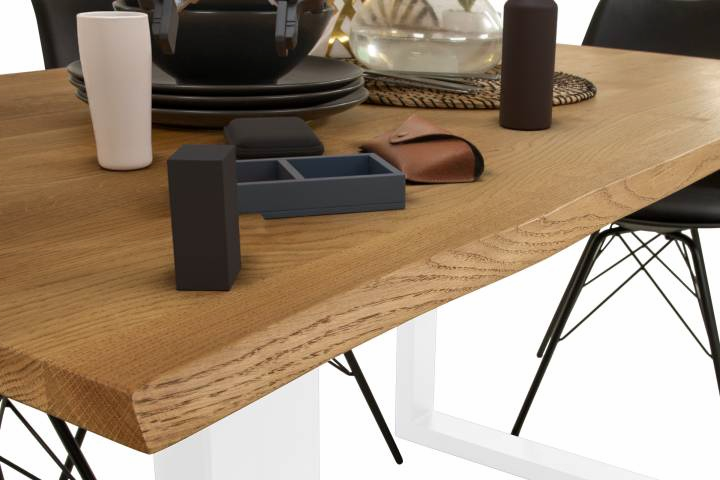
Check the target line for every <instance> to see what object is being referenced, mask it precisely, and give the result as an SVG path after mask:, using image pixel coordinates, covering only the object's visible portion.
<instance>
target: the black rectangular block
mask: <svg viewBox="0 0 720 480" xmlns="http://www.w3.org/2000/svg"><path fill="white" fill-rule="evenodd" d="M236 160H237V158H236V151H235V145H227V144H225V145H220V144H199V143H196V144H193V143H192V144H191V143H184V144H183V143H182V145H181V146H179V148H177V149H176V150H175V151H174V152H173V153H172V154H171V155H170V156H169V157H168V158H167V159H166V169H167V171H166V172H167V182H168V197H169V198H168V199H169V209H170V224H171V225H170V226H171V236H172V237H171V238H172V250H173V260H174V261H173V263H174V278H175V289H176V290H177V291H230V290H231V288H232V286H233V284H234V282H235V281H236V279H237V277H238V275H239V273H240V271H241V269H242V253H241V233H240V231H241V230H240V214H239V210H238V191H237V171H236Z"/></svg>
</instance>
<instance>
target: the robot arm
mask: <svg viewBox="0 0 720 480" xmlns="http://www.w3.org/2000/svg"><path fill="white" fill-rule="evenodd" d="M199 1H200V0H137V2H138V6H139V8H140V9H141V10H143V11H145V12H146V11H147V12H148V11H149V12H150V11H152V10H153V18H152V23H151V31H152V35H153V37H154V41H155V43H156V46H157V47H159V48H161V49H162V50H161V51H162V53H163V54H164V55H175V52H176V51H175V50H176V44H177V37H178V29H179V22H180V16H179V13H180V12H181V11H183V10H184V9H185V8H186V7H187V6H188V5H189V4H193V5H195V4H197V3H198V2H199ZM267 1H268V2H269V3H270V5H272V6H275V7H276V19H275V20H276V21H275V31H274V44H275V49H276V55H277V57H288V55H289V51H291V50H293V51H294V50H295V48H296V47H297V45H298V31H299V20H300V17H301V16H302V15H305V14H307V13H310V14H312V15H319V14H321V13H323V12H324V10H325V1H324V0H267Z"/></svg>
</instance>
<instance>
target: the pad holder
mask: <svg viewBox="0 0 720 480" xmlns="http://www.w3.org/2000/svg"><path fill="white" fill-rule="evenodd" d="M236 171H237V191H238V210H239V215H242V214H256V213H259V214H260V216H261V217H262V219H264V220H269V219H270V220H271V219H283V218H297V217H309V216H323V215H336V214H348V213H349V214H351V213H352V214H353V213H365V212H376V211H390V210H403V209H404V210H405V209H406V180H405V176H406V175H405V174H404V173H402V172H401V171H399V170H398V169H396V168H395V167H394V166H392V165H391V164H389V163H388V162H386V161H385V160H383V159H382V158H381V157H379V156H378V155H376V154H375V153H368V152H364V153H345V154H329V155H326V154H325V155H321V156H307V157H288V158H270V159H251V160H237V159H236Z"/></svg>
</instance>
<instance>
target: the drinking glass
mask: <svg viewBox="0 0 720 480" xmlns="http://www.w3.org/2000/svg"><path fill="white" fill-rule="evenodd" d="M76 29H77V42H78V43H77V44H78V52H79V59H80V65H81V70H82V76H83V81H84V87H85V91H86V96H87V102H88V108H89V113H90V119H91V123H92V129H93V134H94V140H95V147H96V157H97V163H98V165H99V166H100V167H102V168H104V169H106V170H110V171H111V170H112V171H133V170H140V169H144V168H147V167H148V166H150V165H151V164H152V162H153V157H154V156H153V146H152V145H153V144H152V105H153V103H152V102H153V101H152V100H153V99H152V97H153V95H152V93H153V92H152V91H153V90H152V89H153V87H152V85H153V55H152V38H151V30H150V29H151V28H150V22H149V15H148V13H145V12H138V11H87V12H80V13H77V14H76Z"/></svg>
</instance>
